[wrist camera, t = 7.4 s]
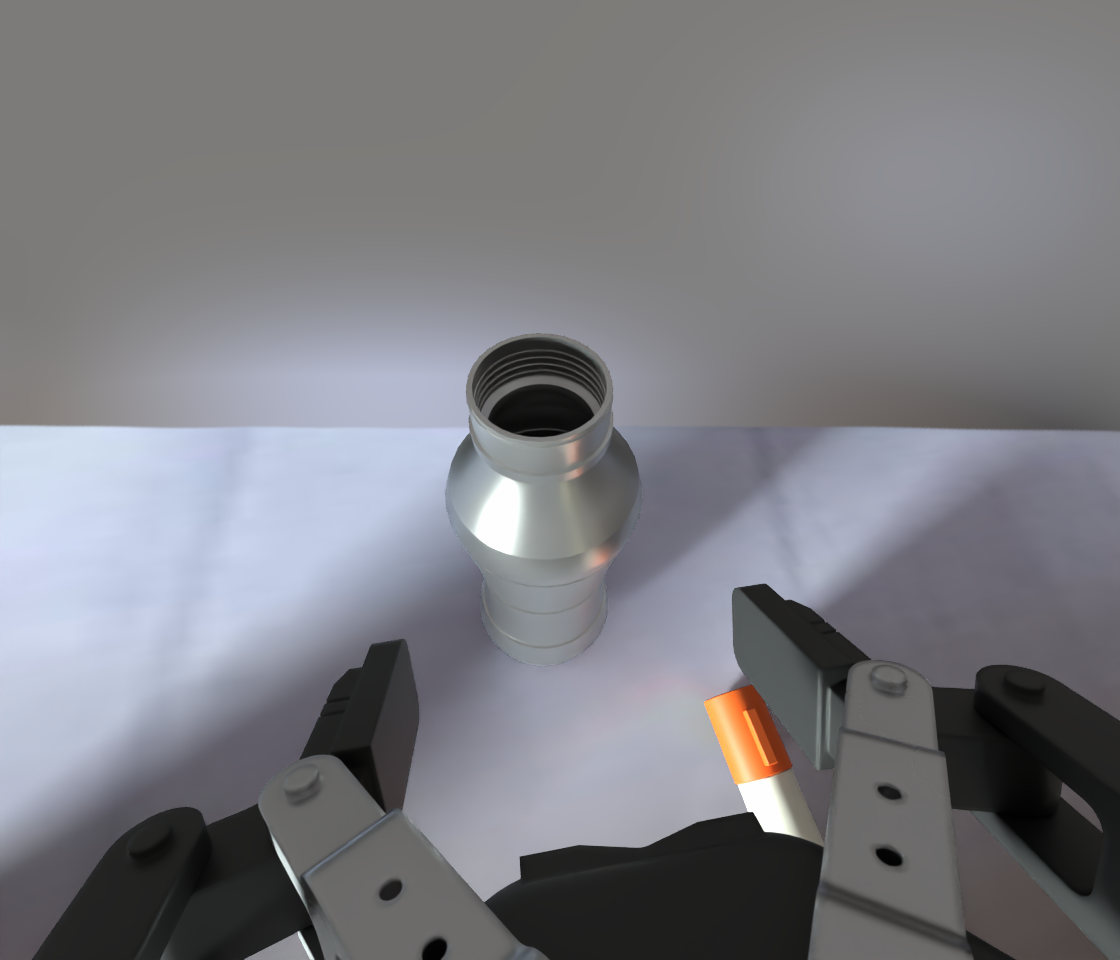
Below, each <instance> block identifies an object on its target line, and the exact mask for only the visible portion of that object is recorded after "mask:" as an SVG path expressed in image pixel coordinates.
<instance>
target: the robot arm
mask: <svg viewBox="0 0 1120 960" xmlns="http://www.w3.org/2000/svg"><path fill="white" fill-rule="evenodd" d="M732 615H733V647H734V653H735V657H736V660H737V662H738V665H739V667H740V669H741V670H742V672H743V673H744V674H745V676H746V677H747V678H748V680H749V681H750V682H751V684H752V685H753V686H754V688H755V689H756V690H757V692H758V693H759V694H760V696H761V697H762V698H763V700H764V701H765V702H766V704H767V705H768V706H769V708H770V709H771V710H772V712H773V713H774V714H775V715H776V717H777V718H778V719H779V721H780V722H781V723H782V725H783V726H784V727H785V729H786V730H787V731H788V733H789V734H790V735H791V737H792V738H793V739H794V741H795V742H796V743H797V745H798V746H799V747H800V749H801V750H802V751H803V753H804V754H805V755H806V756H807V758H808V759H809V760H810V762H811V763H812V764H813V766H814V767H815V768H816V770H817V771H821V770H826V769H832V768H834V772H833V780H832V788H831V796H830V804H829V812H828V820H827V828H826V836H825V844H824V847H823V846H821V845H818V844H816V843H814V842H811V841H808V840H805V839H803V838H799V837H796V836H792V835H788V834H783V833H776V832H767V831H764V830H763V828H762V826H761V824H760V823H759V821H758V819H757V817H756V815H755V814H754V812H753V811H752V812H747V813H742V814H736V815H731V816H726V817H721V818H716V819H711V820H706V821H701V822H697V823H695V824H693V825H690V826H688V827H686V828H684V829H682V830H680V831H678V832H676V833H674V834H672V835H670V836H668V837H665V838H663V839H661V840H659V841H657V842H655V843H653V844H651V845H649V846H646V847H642V848H628V847H606V846H584V845H578V846H572V847H567V848H562V849H557V850H552V851H547V852H542V853H537V854H531V855H526V856H521V857H520V871H521V879H520V880H518V881H516V882H514V883H512V884H510V885H508V886H507V887H505V888H503V889H502V890H500V891H499V892H497V893H496V894H494V895H493V896H492V897H491V898H489V899H488V900H487V901H486V902H483V901H482V900H481V899H480V898H479V896H478V895H477V894H476V893H475V892H474V891H473V890H472V889H471V887H470V886H469V885H468V884H467V883H466V882H465V881H464V880H463V878H462V877H461V876H460V875H459V874H458V873H457V872H456V871H455V869H454V868H453V867H452V866H451V865H450V864H449V863H448V862H447V860H446V859H445V858H444V857H443V856H442V855H441V854H440V853H439V851H438V850H437V849H436V848H435V847H434V846H433V845H432V844H431V842H430V841H429V840H428V839H427V838H426V837H425V836H424V834H423V833H422V832H421V831H420V830H419V829H418V828H417V827H416V825H415V824H414V823H413V822H412V821H411V820H410V819H409V818H408V816H407V815H406V814H405V813H404V812H403V811H402V809H403V804H404V798H405V793H406V788H407V783H408V777H409V772H410V767H411V762H412V756H413V751H414V746H415V741H416V735H417V730H418V724H419V701H418V694H417V689H416V684H415V679H414V674H413V669H412V664H411V660H410V655H409V650H408V646H407V643H406V641H405V639H400V640H394V641H387V642H381V643H375V644H372V645H371V646H370V648H369V651H368V654H367V656H366V659H365V661H364V664H363V666H362V667H360V668H354V669H349V670H348V671H347V672H346V673H345V674H344V675H343V676H342V677H341V678H340V679H339V680H338V681H337V682H336V683H335V684H334V685H333V687H332V690H331V692H330V694H329V696H328V698H327V700H326V701H327V703H326V704H325V705H324V707H323V709H322V711H321V714H320V715H321V716H320V717H319V718H318V720H317V722H316V724H315V727H314V729H313V731H312V733H311V735H310V738H309V740H308V742H307V744H306V746H305V749H304V751H303V753H302V755H301V757H300V759H299V761H296V762H294V763H292V764H290V765H289V766H287V767H285V768H284V769H282V770H281V771H280V772H278V773H277V774H276V775H275V776H274V777H273V778H272V779H270V781H269V782H268V783H267V784H266V785H265V787H264V788H263V790H262V792H261V794H260V796H259V800H258V804H256V805H254V806H252V807H250V808H248V809H246V810H243V811H241V812H238V813H236V814H234V815H231V816H229V817H226V818H224V819H221V820H219V821H216V822H214V823H211V824H209V825H207V826H206V824H205V821H204V818H203V816H202V814H201V812H200V811H199V810H197V809H195V808H190V807H180V808H174V809H170V810H166V811H164V812H161V813H158V814H156V815H154V816H152V817H150V818H148V819H146V820H144V821H142V822H141V823H139V824H137V825H136V826H134V827H133V828H131V829H130V830H129V831H127V832H126V833H125V834H123V835H122V836H121V837H120V838H119V839H118V840H117V841H116V842H115V843H114V844H113V845H112V846H111V847H110V848H109V849H108V850H107V852H106V853H105V854H104V856H103V857H102V859H101V860H100V861H99V863H98V864H97V866H96V867H95V869H94V870H93V872H92V873H91V875H90V876H89V877H88V879H87V880H86V882H85V883H84V885H83V886H82V888H81V889H80V890H79V892H78V893H77V895H76V896H75V898H74V899H73V901H72V902H71V904H70V905H69V906H68V908H67V909H66V911H65V912H64V914H63V915H62V917H61V918H60V919H59V921H58V922H57V924H56V925H55V927H54V928H53V930H52V931H51V932H50V934H49V935H48V937H47V938H46V940H45V941H44V943H43V944H42V946H41V947H40V948H39V950H38V951H37V953H36V954H35V956H34V957H33V959H32V960H244V959H245V958H247V957H249V956H251V955H253V954H255V953H257V952H259V951H261V950H263V949H265V948H267V947H269V946H271V945H273V944H275V943H277V942H279V941H281V940H283V939H284V938H286V937H288V936H290V935H292V934H294V933H296V932H297V933H298V936H299V938H300V940H301V942H302V944H303V946H304V948H305V950H306V952H307V954H308V956H309V958H310V960H1015V959H1014V958H1012V957H1010V956H1009V955H1007V954H1005V953H1004V952H1002V951H1000V950H999V949H997V948H995V947H994V946H992V945H990V944H989V943H987V942H985V941H983V940H982V939H980V938H978V937H977V936H975V935H973V934H972V933H970V932H968V931H967V930H965V923H964V914H963V906H962V897H961V888H960V879H959V871H958V862H957V853H956V844H955V835H954V827H953V818H952V809H960V810H970V812H971V813H972V814H973V815H974V816H975V817H976V818H977V820H978V821H979V822H980V823H981V824H982V825H983V826H984V827H985V828H986V829H987V830H988V831H989V832H990V833H991V835H992V836H993V837H994V838H995V839H996V840H997V841H998V842H999V843H1000V844H1001V845H1002V846H1003V847H1004V848H1005V849H1006V851H1007V852H1008V853H1009V854H1010V855H1011V856H1012V857H1013V858H1014V859H1015V860H1016V861H1017V862H1018V863H1019V864H1020V866H1021V867H1022V868H1023V869H1024V870H1025V871H1026V872H1027V873H1028V874H1029V875H1030V876H1031V877H1032V878H1033V879H1034V881H1035V882H1036V883H1037V884H1038V885H1039V886H1040V887H1041V888H1042V889H1043V890H1044V891H1045V892H1046V893H1047V894H1048V896H1049V897H1050V898H1051V899H1052V900H1053V901H1054V902H1055V903H1056V904H1057V905H1058V906H1059V907H1060V908H1061V909H1062V911H1063V912H1064V913H1065V914H1066V915H1067V916H1068V917H1069V918H1070V919H1071V920H1072V921H1073V922H1074V923H1075V924H1076V925H1077V927H1078V928H1079V929H1080V930H1081V931H1082V932H1083V933H1084V934H1085V935H1086V936H1087V937H1088V938H1089V939H1090V940H1091V942H1092V943H1093V944H1094V945H1095V946H1096V947H1097V948H1098V949H1099V950H1100V951H1101V952H1102V953H1103V954H1104V955H1105V957H1106V958H1107V959H1108V960H1120V721H1119V720H1118V719H1116V718H1114V717H1113V716H1111V715H1110V714H1108V713H1107V712H1105V711H1104V710H1102V709H1101V708H1099V707H1098V706H1096V705H1094V704H1093V703H1091V702H1090V701H1088V700H1087V699H1085V698H1084V697H1082V696H1081V695H1079V694H1077V693H1076V692H1074V691H1073V690H1071V689H1070V688H1068V687H1067V686H1065V685H1064V684H1062V683H1060V682H1059V681H1057V680H1055V679H1054V678H1052V677H1049V676H1047V675H1045V674H1043V673H1040V672H1037V671H1034V670H1031V669H1027V668H1023V667H1018V666H1012V665H991V666H986V667H984V668H981V669H980V670H979V671H978V672H977V674H976V681H975V689H961V688H940V687H932V686H931V684H930V683H929V681H928V680H927V679H926V678H925V677H924V676H922V675H921V674H920V673H918V672H917V671H915V670H913V669H911V668H909V667H907V666H904V665H901V664H898V663H894V662H890V661H883V660H871V659H870V658H869V657H868V656H866V655H865V654H864V653H863V652H862V651H861V650H859V649H858V648H857V647H856V646H855V645H853V644H852V643H851V642H850V641H849V640H847V639H846V638H845V637H844V636H843V635H842V634H840V633H839V632H836V629H834V628H833V627H832V626H831V625H830V624H828V623H827V622H826V623H825V621H824V619H823V618H821V617H820V616H819V615H818V614H817V613H815V612H814V611H813V610H812V609H811V608H808V607H806V606H804V605H802V604H799V603H797V602H795V601H792V600H786V601H785V600H784V599H783V598H782V597H781V596H779V595H778V594H777V593H776V592H775V591H774V590H773V589H772V588H770V587H769V586H768V585H767V584H758V585H752V586H745V587H739V588H735V589H734V591H733V594H732ZM1063 782H1064V783H1065V784H1066V785H1067V786H1068V787H1070V788H1071V789H1072V790H1073V791H1074V792H1076V793H1077V794H1078V795H1079V796H1080V797H1082V798H1083V799H1084V800H1085V801H1086V802H1087V803H1088V804H1089V805H1090V806H1091V808H1092V809H1093V810H1094V812H1095V813H1096V815H1097V817H1098V819H1099V821H1100V823H1101V826H1102V830H1103V833H1102V832H1101V831H1100V830H1099V829H1097V828H1096V827H1095V826H1094V825H1093V824H1092V823H1090V822H1089V821H1088V820H1087V819H1086V818H1085V817H1083V816H1082V815H1081V814H1080V813H1079V812H1078V811H1076V810H1075V809H1074V808H1073V807H1072V806H1071V805H1070V804H1068V803H1067V802H1066V801H1065V800H1064V799H1063V798H1061V797H1060V795H1061V789H1062V783H1063Z"/></svg>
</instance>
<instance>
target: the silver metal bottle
mask: <svg viewBox="0 0 1120 960" xmlns="http://www.w3.org/2000/svg"><path fill="white" fill-rule="evenodd" d="M466 397H467V405H468V408H469V413H470V415H469V428H470V433H469V434H468V435H467V436H466V438H465V439H464V440H463V442H462V443H461V445H460V446H459V447H458V449H457V451H456V454H455V456H454V458H453V461H452V463H451V467H450V471H449V474H448V479H447V485H446V490H445V497H446V509H447V513H448V516H449V519H450V523H451V525H452V527H453V529H454V531H455V533H456V535H457V537H458V539H459V540H460V542H461V544H462V546H463V547H464V549H465V550H466V551H467V553H468V554H469V555H470V557H471V558H472V559H473V560H474V562H475V563H476V564H477V566H478V567H479V568H480V571H481V573H482V575H483V577H484V581H483V584H482V591H481V600H480V608H481V617H482V621H483V624H484V627H485V629H486V631H487V633H488V635H489V637H490V638H491V640H492V641H493V642H494V643H495V644H496V645H497V646H498V648H500V649H501V650H502V651H504V652H505V653H506V654H508V655H509V656H511V657H512V658H514V659H516V660H518V661H520V662H523V663H526V664H530V665H534V666H551V665H558V664H561V663H564V662H567V661H569V660H571V659H573V658H574V657H576V656H578V655H579V654H581V653H583V652H584V651H585V650H586V649H587V648H588V647H590V646H591V645H592V644H593V643H594V641H595V640H596V639H597V637H598V636H599V634H600V633H601V631H602V628H603V626H604V624H605V621H606V617H607V612H608V593H607V587H606V582H605V575H606V572H607V570H608V568H609V566H610V564H611V563H612V562H613V560H614V559H615V558H616V556H617V555H618V554H619V552H620V551H621V550H622V548H623V547H624V546H625V545H626V543H627V541H628V539H629V537H630V535H631V533H632V531H633V529H634V527H635V525H636V523H637V521H638V519H639V515H640V511H641V506H642V502H643V498H642V482H641V479H640V475H639V471H638V467H637V463H636V460H635V456H634V454H633V452H632V450H631V449H630V447H629V445H628V443H627V442H626V440H625V439H624V438H623V437H622V436H621V434H620V433H619V432H618V431H617V430H616V429H615V428H614V427H613V412H612V401H613V386H612V380H611V376H610V372H609V370H608V368H607V367H606V365H605V363H604V361H603V360H602V359H601V358H600V357H599V356H598V355H597V354H596V353H595V352H594V351H592V350H591V349H590V348H589V347H588V346H585V345H584V344H582V343H580V342H578V341H576V340H573V339H570V338H567V337H564V336H559V335H554V334H540V333H536V334H525V335H521V336H516V337H512V338H509V339H507V340H504V341H502V342H499V343H498V344H496V345H494V346H493V347H491V348H489V349H488V350H487V351H486V352H484V353H483V354H482V355H481V356H480V357H479V358H478V360H477V361H476V362H475V363H474V365H473V366H472V368H471V371H470V373H469V375H468V380H467V385H466Z"/></svg>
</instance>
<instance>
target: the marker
mask: <svg viewBox="0 0 1120 960" xmlns="http://www.w3.org/2000/svg"><path fill="white" fill-rule="evenodd" d="M704 704H705V706H706V709H707V712H708V714H709V717H710V719H711V722H712V724H713V727H714V730H715V732H716V735H717V737H718V740H719V743H720V745H721V748H722V750H723V753H724V755H725V758H726V761H727V763H728V766H729V768H730V771H731V774H732V776H733V779H734V781H735V784H738V785H739V788H740V791H741V793H742V796H743V799H744V801H745V804H746V806H747V809H748V811H749V812H752V811H753V812H754V814H755V815H756V817H757V819H758V821H759V823H760V824H761V826H762V828H763V830H764V831H767V832H776V833H783V834H788V835H792V836H796V837H799V838H803V839H805V840H808V841H811V842H814V843H816V844H818V845H821V846H823V847H824V842H823V839H822V837H821V835H820V832H819V830H818V828H817V826H816V823H815V821H814V819H813V816H812V814H811V812H810V810H809V807H808V805H807V803H806V800H805V798H804V796H803V794H802V791H801V789H800V787H799V784H798V782H797V780H796V778H795V775H794V773H793V771H792V769H791V767H792V763H791V761H790V759H789V756H788V754H787V752H786V749H785V747H784V745H783V743H782V740H781V738H780V736H779V733H778V731H777V729H776V727H775V724H774V722H773V720H772V718H771V715H770V713H769V711H768V708H767V706H766V704H765V702H764V700H763V698H762V697H761V696H760V694H759V693H758V692H757V690H756V689H755V688H754V686H753V685H750V686H746V687H742V688H739V689H736V690H733V691H730V692H727V693H724V694H721V695H718V696H716V697H713V698H711V699H709V700H707V701H705V702H704Z"/></svg>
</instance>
